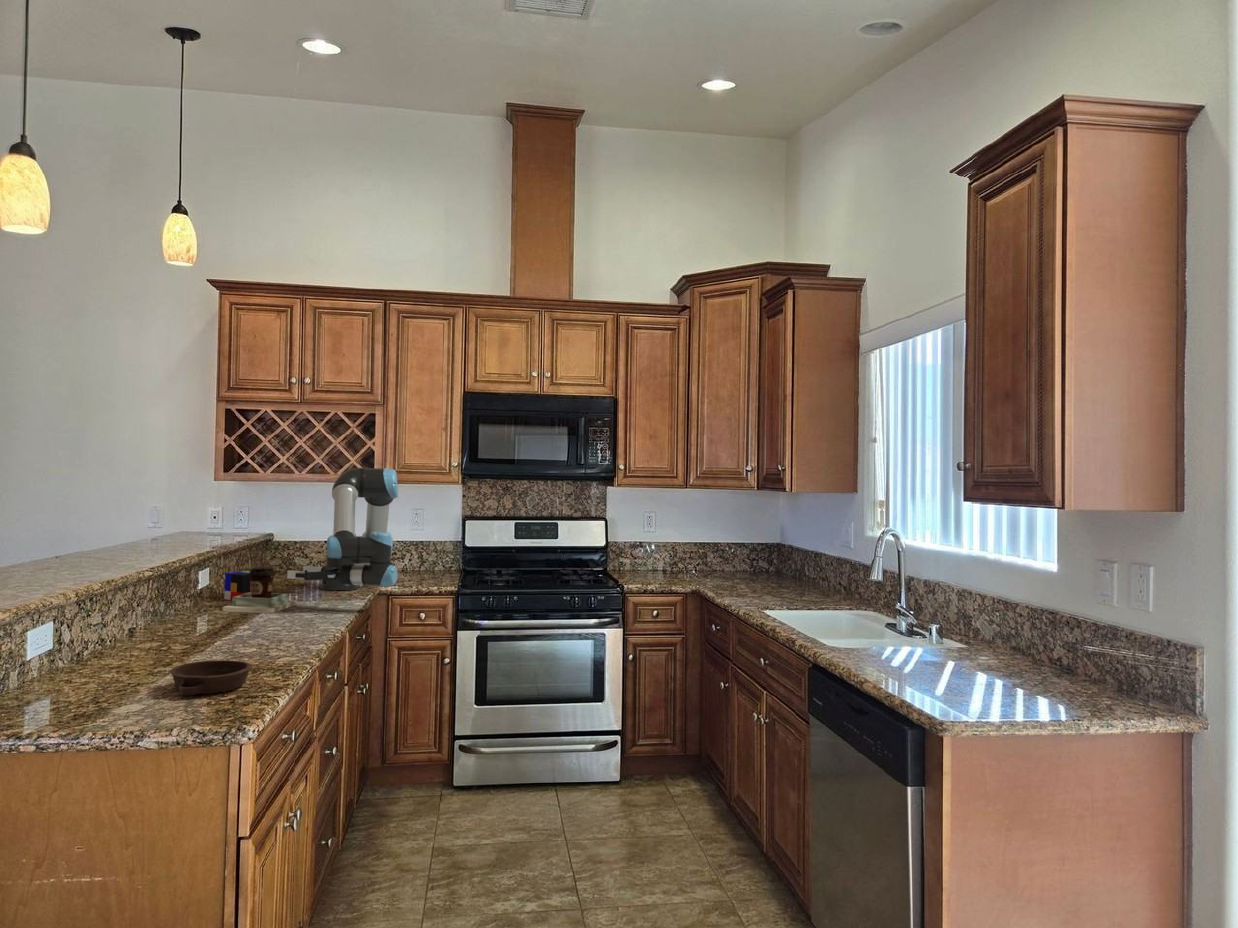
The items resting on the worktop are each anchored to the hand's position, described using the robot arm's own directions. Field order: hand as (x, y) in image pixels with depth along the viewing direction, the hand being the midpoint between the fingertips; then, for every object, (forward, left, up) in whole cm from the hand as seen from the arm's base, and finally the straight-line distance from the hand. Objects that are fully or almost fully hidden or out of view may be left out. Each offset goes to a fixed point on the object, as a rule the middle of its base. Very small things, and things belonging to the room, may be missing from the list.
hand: (295, 572), depth 319 cm
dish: (+112, +27, -14) cm, 116 cm away
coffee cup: (+1, -12, -12) cm, 17 cm away
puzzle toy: (-18, -27, -14) cm, 35 cm away
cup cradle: (+1, -12, -13) cm, 18 cm away
